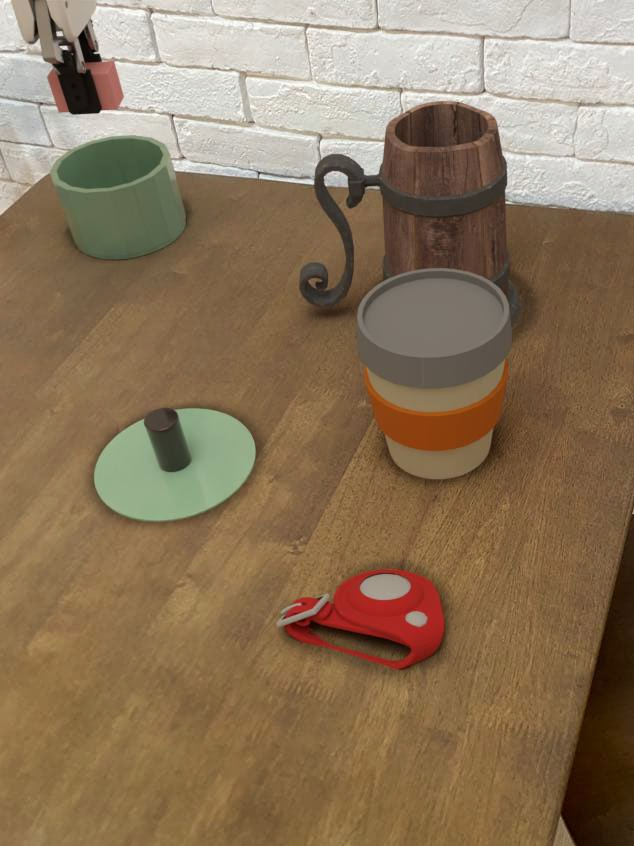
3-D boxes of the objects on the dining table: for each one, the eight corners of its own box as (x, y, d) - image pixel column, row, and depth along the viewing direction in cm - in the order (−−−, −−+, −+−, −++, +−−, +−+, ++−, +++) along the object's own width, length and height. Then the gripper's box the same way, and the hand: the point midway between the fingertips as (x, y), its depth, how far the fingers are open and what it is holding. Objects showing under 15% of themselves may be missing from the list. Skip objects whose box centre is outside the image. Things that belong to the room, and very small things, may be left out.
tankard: (519, 263, 104) (525, 78, 89) (537, 357, 93) (547, 163, 78) (310, 278, 105) (280, 97, 90) (302, 373, 94) (267, 183, 79)
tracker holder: (397, 545, 76) (474, 598, 69) (398, 591, 78) (473, 648, 71) (263, 592, 70) (333, 656, 63) (268, 641, 72) (336, 708, 65)
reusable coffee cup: (468, 389, 90) (466, 250, 79) (535, 469, 82) (543, 327, 71) (349, 432, 87) (329, 294, 76) (406, 519, 79) (393, 379, 68)
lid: (80, 532, 81) (56, 482, 76) (116, 420, 91) (96, 369, 86) (248, 525, 80) (233, 474, 76) (265, 413, 90) (254, 362, 85)
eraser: (58, 113, 93) (46, 76, 91) (66, 100, 95) (54, 64, 93) (117, 109, 93) (107, 73, 90) (124, 96, 95) (114, 60, 92)
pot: (62, 262, 110) (36, 195, 104) (89, 204, 120) (66, 138, 113) (176, 256, 110) (157, 188, 103) (194, 198, 119) (177, 131, 112)
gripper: (11, -135, 86) (75, 72, 100) (-51, -80, 75) (31, 144, 89) (90, -140, 86) (144, 69, 99) (40, -86, 75) (108, 140, 89)
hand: (90, 102), depth 94 cm, fingers closed on eraser, 3 cm apart
